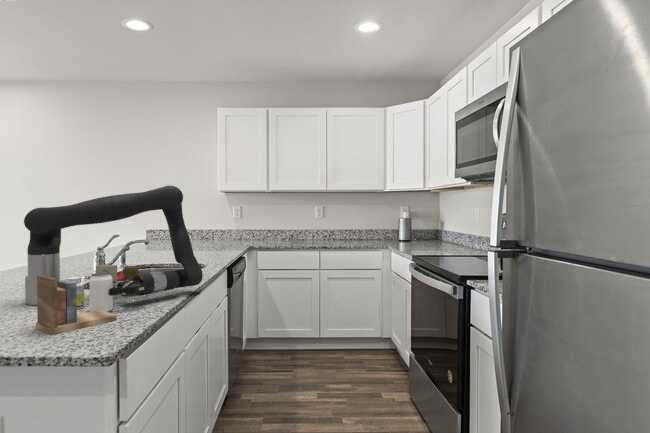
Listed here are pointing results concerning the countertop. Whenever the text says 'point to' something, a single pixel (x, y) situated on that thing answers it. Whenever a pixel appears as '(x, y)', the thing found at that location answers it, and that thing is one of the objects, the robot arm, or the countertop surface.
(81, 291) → the supplement bottle
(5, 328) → the countertop surface
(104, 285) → the can
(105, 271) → the skincare box
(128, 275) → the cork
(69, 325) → the wooden bookend
